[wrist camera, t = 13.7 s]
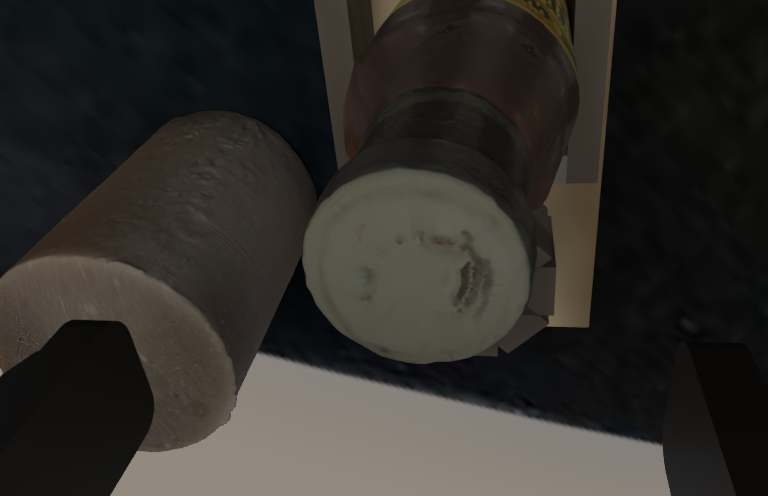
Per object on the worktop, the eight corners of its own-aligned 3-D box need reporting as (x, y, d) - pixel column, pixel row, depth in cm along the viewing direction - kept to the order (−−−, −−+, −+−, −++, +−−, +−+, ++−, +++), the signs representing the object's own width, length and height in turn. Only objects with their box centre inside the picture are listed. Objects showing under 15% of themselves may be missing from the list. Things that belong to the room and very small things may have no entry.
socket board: (627, -186, 24) (656, -189, 20) (586, 313, 36) (597, 386, 32) (312, -152, 27) (269, -147, 22) (371, 308, 39) (352, 376, 34)
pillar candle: (143, 240, 39) (-27, 441, 26) (148, 82, 33) (-63, 242, 21) (304, 285, 39) (211, 508, 26) (336, 136, 33) (238, 327, 21)
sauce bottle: (597, -2, 27) (732, 282, 10) (496, 114, 30) (476, 473, 13) (468, -108, 25) (384, 21, 9) (378, 26, 29) (194, 301, 12)
